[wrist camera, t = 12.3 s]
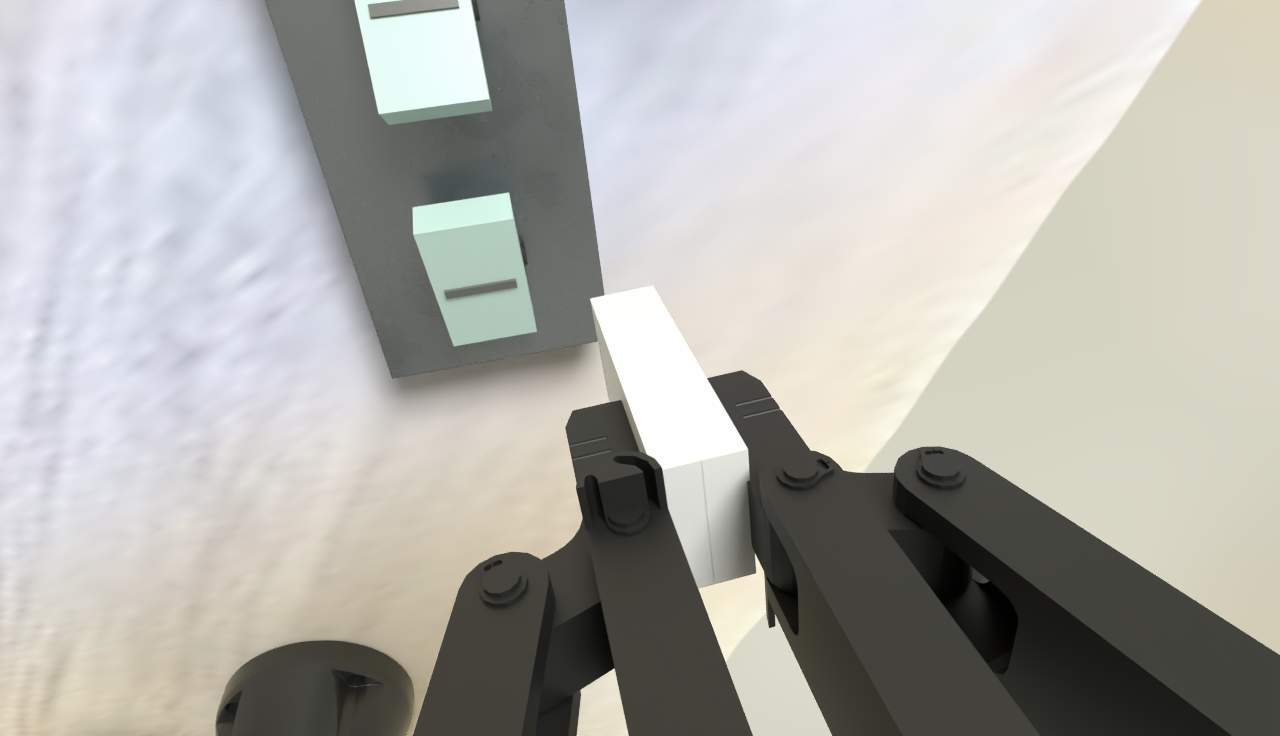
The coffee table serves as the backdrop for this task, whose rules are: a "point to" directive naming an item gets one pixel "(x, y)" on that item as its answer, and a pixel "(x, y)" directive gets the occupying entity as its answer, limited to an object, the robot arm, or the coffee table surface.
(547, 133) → the console
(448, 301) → the switch
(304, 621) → the coffee table surface
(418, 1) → the switch
